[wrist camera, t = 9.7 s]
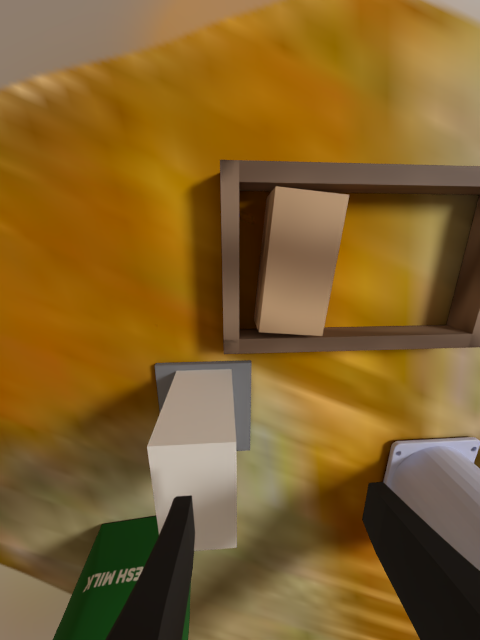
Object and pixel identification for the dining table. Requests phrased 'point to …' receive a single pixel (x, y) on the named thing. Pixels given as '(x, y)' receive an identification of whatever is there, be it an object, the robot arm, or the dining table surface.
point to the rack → (236, 175)
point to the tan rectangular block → (298, 260)
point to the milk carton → (110, 580)
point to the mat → (240, 390)
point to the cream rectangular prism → (198, 455)
